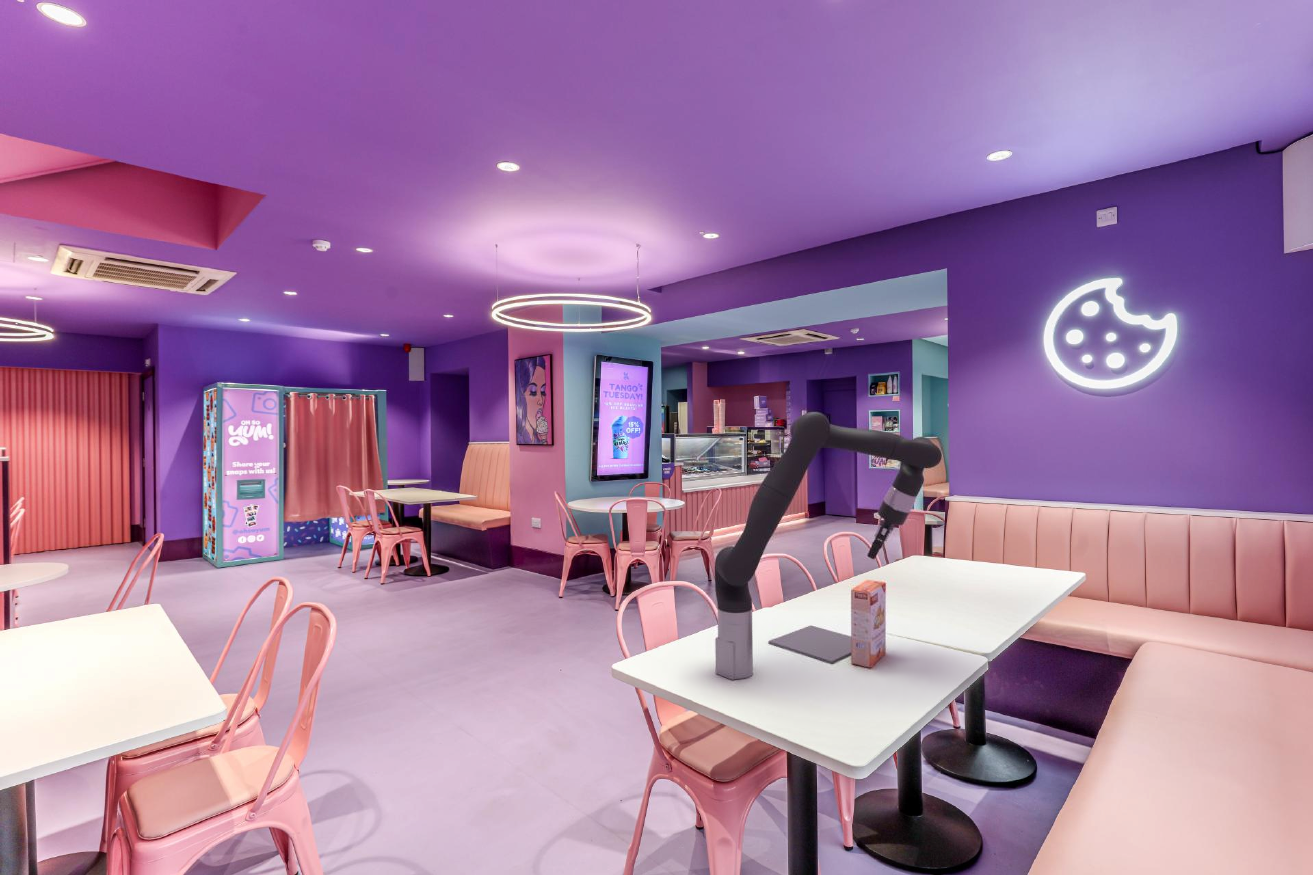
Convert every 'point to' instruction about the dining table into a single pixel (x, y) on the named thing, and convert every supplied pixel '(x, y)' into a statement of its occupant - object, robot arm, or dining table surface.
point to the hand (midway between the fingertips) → (872, 552)
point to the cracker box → (868, 623)
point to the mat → (816, 643)
